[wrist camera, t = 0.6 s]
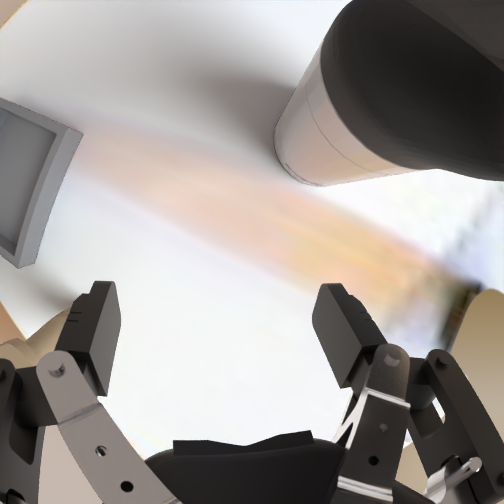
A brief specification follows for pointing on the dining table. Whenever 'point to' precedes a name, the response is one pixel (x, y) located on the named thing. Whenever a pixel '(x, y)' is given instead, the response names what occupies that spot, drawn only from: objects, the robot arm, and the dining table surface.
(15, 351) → the handle
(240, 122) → the dining table surface
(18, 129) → the tray
